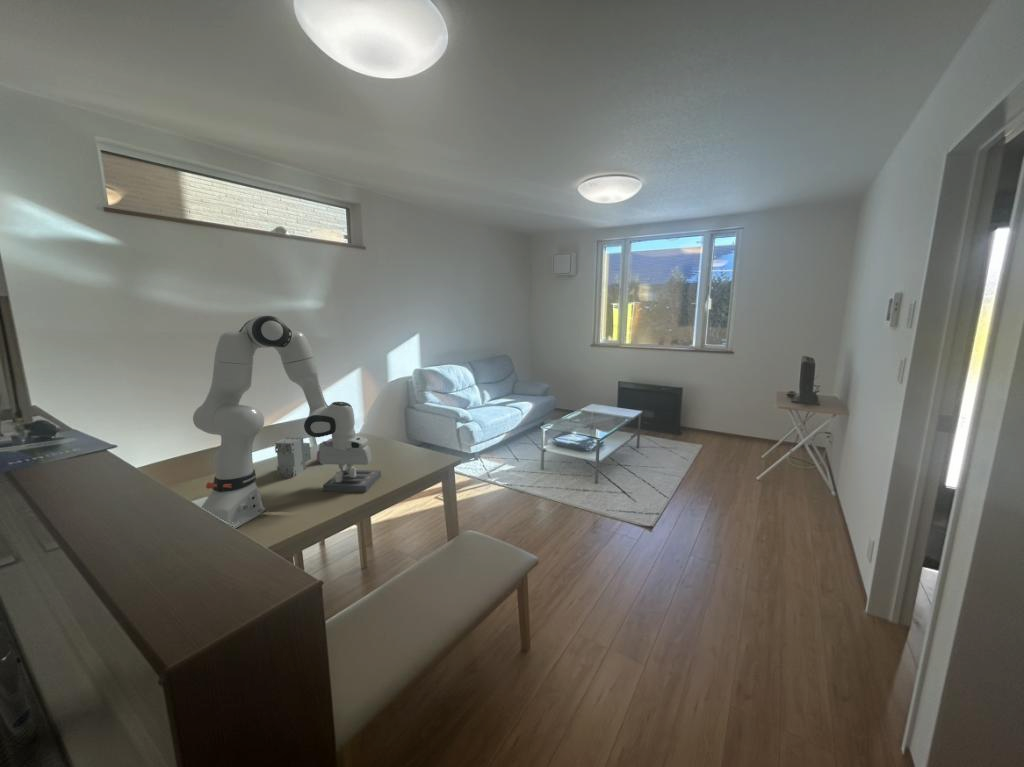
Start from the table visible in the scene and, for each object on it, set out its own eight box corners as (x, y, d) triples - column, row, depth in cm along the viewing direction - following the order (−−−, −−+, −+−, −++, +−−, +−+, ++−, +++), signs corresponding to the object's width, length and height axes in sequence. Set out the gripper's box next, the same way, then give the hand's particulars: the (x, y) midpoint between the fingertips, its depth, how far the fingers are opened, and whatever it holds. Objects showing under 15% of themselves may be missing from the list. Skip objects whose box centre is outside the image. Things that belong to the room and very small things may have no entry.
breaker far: (351, 472, 171) (350, 464, 171) (346, 472, 172) (346, 464, 171) (353, 470, 173) (352, 463, 173) (349, 470, 174) (348, 463, 173)
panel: (366, 491, 160) (365, 485, 159) (323, 491, 160) (323, 484, 160) (381, 476, 175) (380, 470, 175) (342, 475, 176) (341, 469, 176)
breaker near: (340, 482, 162) (339, 473, 161) (335, 482, 162) (335, 473, 161) (342, 480, 164) (341, 472, 163) (338, 480, 164) (337, 471, 163)
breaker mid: (354, 477, 166) (353, 469, 166) (350, 477, 166) (349, 469, 166) (356, 475, 168) (355, 467, 168) (352, 475, 168) (351, 467, 168)
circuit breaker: (313, 465, 188) (311, 433, 185) (294, 477, 174) (291, 443, 171) (298, 464, 189) (295, 433, 186) (277, 476, 175) (274, 442, 172)
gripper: (314, 443, 163) (317, 476, 165) (365, 444, 162) (367, 477, 164) (322, 438, 169) (325, 470, 171) (371, 439, 168) (373, 471, 170)
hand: (346, 474), depth 168 cm, fingers closed
